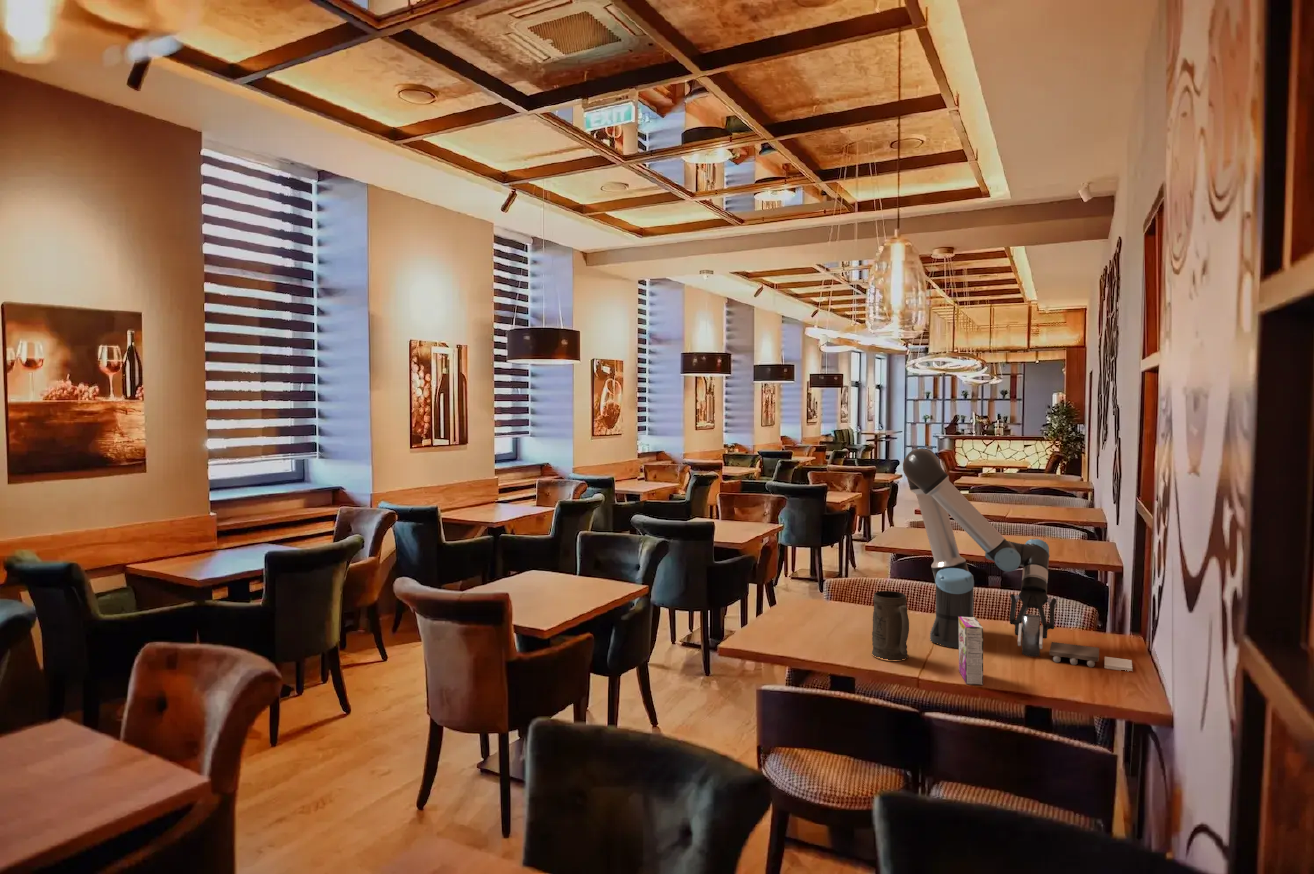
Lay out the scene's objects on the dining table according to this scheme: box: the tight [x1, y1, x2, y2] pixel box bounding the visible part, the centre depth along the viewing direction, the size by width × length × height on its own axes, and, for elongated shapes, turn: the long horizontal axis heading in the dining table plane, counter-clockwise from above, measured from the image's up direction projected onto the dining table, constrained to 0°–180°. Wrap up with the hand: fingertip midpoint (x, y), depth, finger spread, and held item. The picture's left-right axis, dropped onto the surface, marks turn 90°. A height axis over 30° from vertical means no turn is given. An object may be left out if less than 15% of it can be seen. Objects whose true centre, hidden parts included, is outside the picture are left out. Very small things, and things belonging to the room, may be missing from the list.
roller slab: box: [1048, 641, 1100, 668], centre depth 236 cm, size 13×11×3 cm
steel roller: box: [1021, 613, 1041, 658], centre depth 242 cm, size 5×5×12 cm
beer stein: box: [871, 590, 910, 660], centre depth 238 cm, size 15×11×20 cm
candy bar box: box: [958, 616, 984, 686], centre depth 220 cm, size 11×5×16 cm, turn 168°
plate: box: [1104, 656, 1133, 672], centre depth 230 cm, size 7×9×1 cm
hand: (1029, 644), depth 239 cm, fingers open, 5 cm apart
